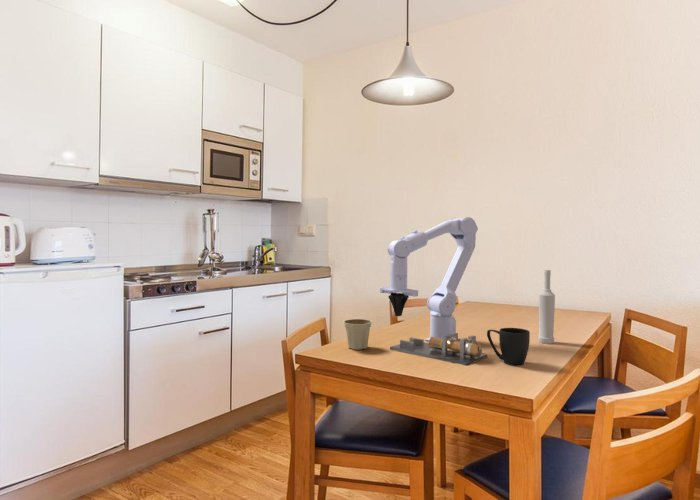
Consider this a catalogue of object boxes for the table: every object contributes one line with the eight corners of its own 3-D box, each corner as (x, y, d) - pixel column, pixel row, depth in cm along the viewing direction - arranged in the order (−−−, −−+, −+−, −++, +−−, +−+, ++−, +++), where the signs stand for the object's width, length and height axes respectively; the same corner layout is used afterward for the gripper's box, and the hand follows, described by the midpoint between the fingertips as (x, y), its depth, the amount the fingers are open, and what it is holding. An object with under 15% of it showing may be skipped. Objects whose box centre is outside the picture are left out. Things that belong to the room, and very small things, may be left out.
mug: (492, 355, 142) (493, 324, 142) (533, 362, 135) (533, 330, 135) (481, 361, 136) (482, 328, 136) (523, 368, 128) (524, 334, 128)
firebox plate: (413, 342, 159) (413, 335, 159) (487, 356, 141) (487, 348, 141) (389, 349, 150) (390, 341, 150) (466, 365, 132) (466, 356, 132)
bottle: (555, 344, 158) (557, 270, 158) (539, 343, 159) (540, 270, 159) (552, 341, 163) (553, 269, 163) (536, 340, 164) (537, 269, 164)
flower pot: (347, 352, 146) (347, 324, 146) (340, 345, 155) (340, 319, 155) (375, 350, 148) (376, 323, 148) (367, 343, 158) (367, 318, 157)
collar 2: (471, 356, 142) (472, 335, 141) (475, 357, 141) (475, 335, 141) (459, 361, 136) (460, 339, 136) (463, 361, 135) (463, 339, 135)
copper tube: (428, 349, 145) (428, 337, 145) (434, 347, 148) (435, 335, 148) (475, 358, 135) (476, 345, 135) (481, 356, 137) (481, 343, 137)
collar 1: (454, 352, 146) (454, 332, 145) (457, 353, 145) (457, 333, 145) (441, 357, 140) (442, 336, 140) (445, 358, 139) (445, 336, 139)
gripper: (374, 275, 159) (374, 314, 160) (409, 277, 150) (409, 320, 150) (387, 274, 165) (386, 312, 165) (421, 276, 155) (421, 317, 155)
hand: (398, 315), depth 158 cm, fingers closed
